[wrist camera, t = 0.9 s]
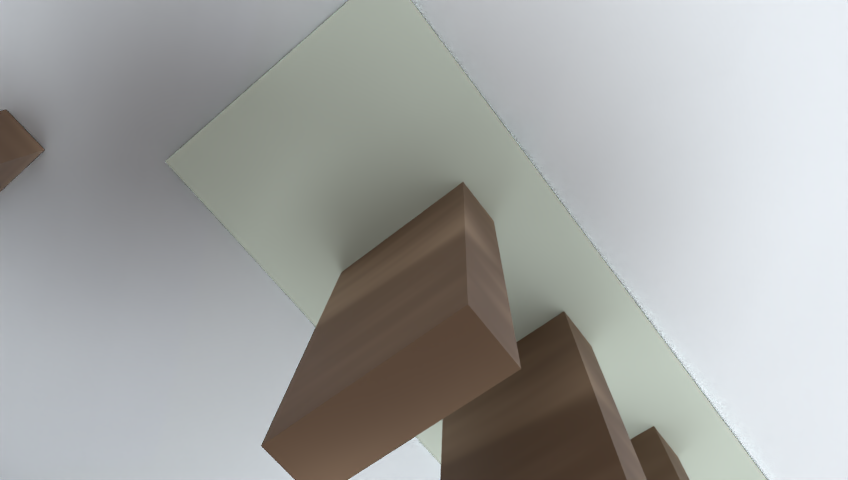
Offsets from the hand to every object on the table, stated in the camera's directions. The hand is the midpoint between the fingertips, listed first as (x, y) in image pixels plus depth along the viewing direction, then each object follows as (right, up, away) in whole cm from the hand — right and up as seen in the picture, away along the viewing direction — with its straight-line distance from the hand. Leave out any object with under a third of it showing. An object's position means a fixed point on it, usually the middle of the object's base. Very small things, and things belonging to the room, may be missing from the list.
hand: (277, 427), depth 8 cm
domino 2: (+5, -2, +13) cm, 14 cm away
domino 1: (+2, +2, +12) cm, 12 cm away
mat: (+5, -2, +13) cm, 14 cm away
